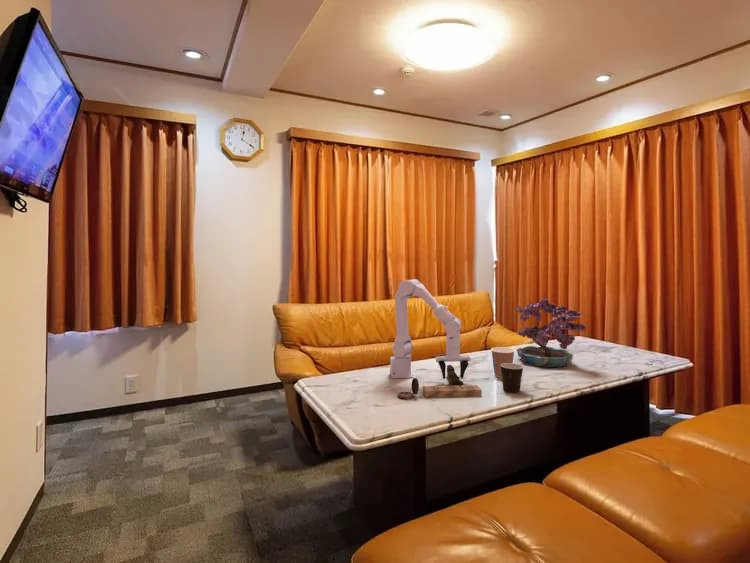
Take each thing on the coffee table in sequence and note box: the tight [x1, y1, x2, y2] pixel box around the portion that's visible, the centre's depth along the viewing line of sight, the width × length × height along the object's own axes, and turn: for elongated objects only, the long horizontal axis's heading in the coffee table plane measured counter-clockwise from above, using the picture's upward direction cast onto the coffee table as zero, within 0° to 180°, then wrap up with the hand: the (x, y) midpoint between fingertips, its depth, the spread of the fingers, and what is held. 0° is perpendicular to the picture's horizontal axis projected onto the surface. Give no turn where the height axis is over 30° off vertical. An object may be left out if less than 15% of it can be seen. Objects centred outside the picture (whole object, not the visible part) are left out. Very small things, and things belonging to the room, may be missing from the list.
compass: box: [396, 377, 420, 400], centre depth 158 cm, size 8×8×7 cm
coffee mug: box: [501, 362, 524, 394], centre depth 165 cm, size 12×9×10 cm
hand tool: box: [446, 364, 464, 386], centre depth 176 cm, size 23×5×6 cm, turn 176°
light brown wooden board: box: [422, 384, 483, 399], centre depth 162 cm, size 22×6×3 cm, turn 93°
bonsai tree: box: [515, 298, 586, 368], centre depth 205 cm, size 35×27×33 cm
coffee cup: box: [490, 346, 516, 379], centre depth 186 cm, size 10×10×12 cm
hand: (452, 378), depth 176 cm, fingers open, 7 cm apart
